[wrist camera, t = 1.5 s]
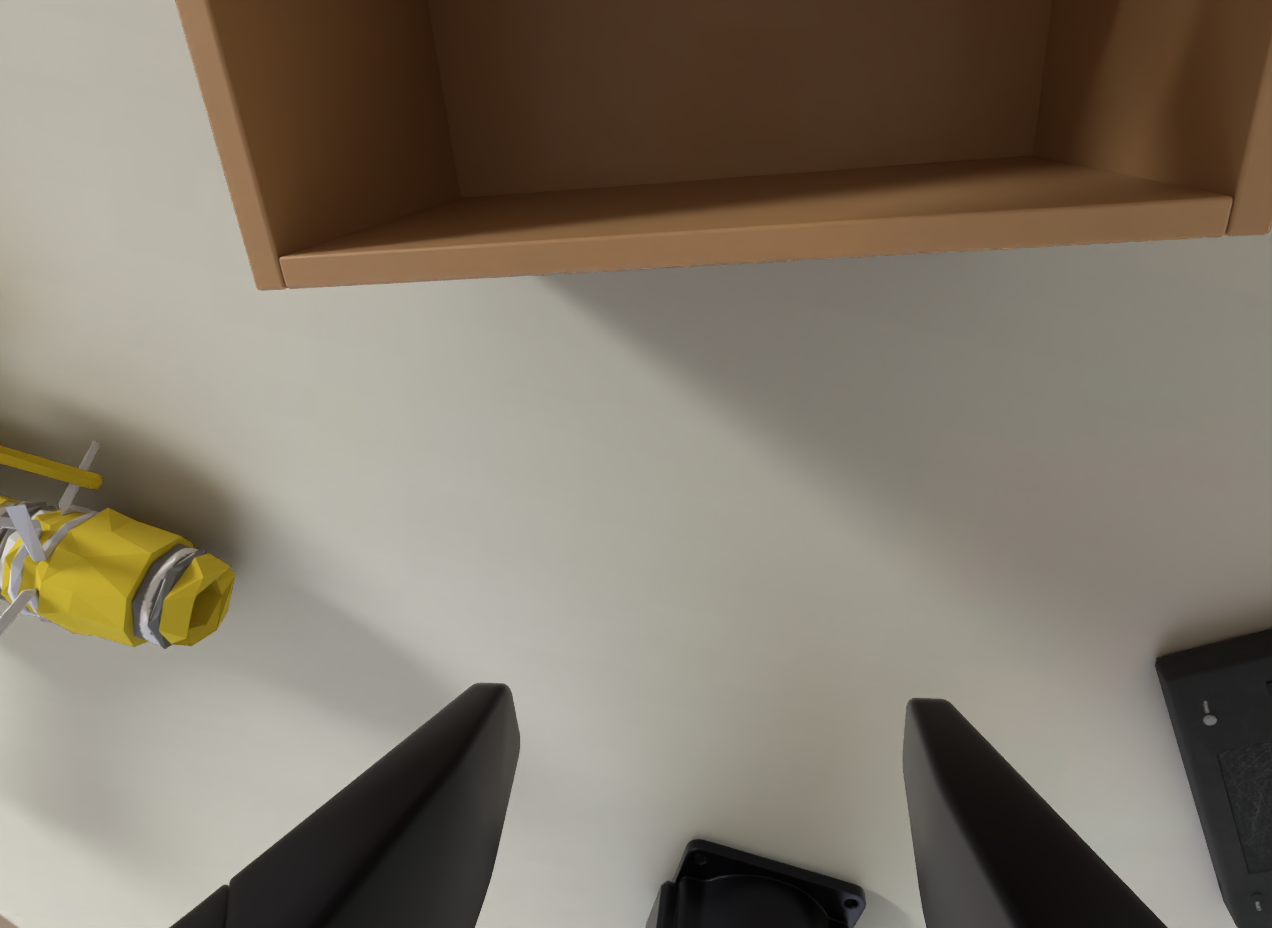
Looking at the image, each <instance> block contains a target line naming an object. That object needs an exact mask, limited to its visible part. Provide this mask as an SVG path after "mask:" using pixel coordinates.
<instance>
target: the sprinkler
mask: <svg viewBox="0 0 1272 928" xmlns="http://www.w3.org/2000/svg"><path fill="white" fill-rule="evenodd" d="M100 445H101V444H99V443H98V442H96V441H95V440H93V442H92V444H91V446H90V448H89V449H88V451H87V453H86V455H85V456H84V458H83V460H82V462H81V464H80V465H79V467H78V468H75V467H72V466H69V465H65V464H62V463H58V462H55V461H52V460H48V459H45V458H41V457H38V456H35V455H31V454H28V453H24V452H21V451H18V450H14V449H11V448H7V447H4V446H1V445H0V464H4V465H8V466H11V467H15V468H18V469H22V470H25V471H29V472H32V473H36V474H39V475H43V476H46V477H50V478H53V479H57V480H61V481H64V482H68V483H69V485H68V487H67V489H66V490H65V492H64V494H63V496H62V498H61V499H60V501H59V504H58V506H59V509H60V510H58V509H55V508H54V507H53V506H47V504H46V502H42V503H35V502H29V501H22V502H21V501H18V500H15V499H12V498H9V497H6V496H3V495H0V600H7V601H8V602H9V603H10V604H11V605H10V606H9V607H8V609H7V610H6V611H5V612H4V613H3V614H2V616H1V617H0V636H1V634H2V633H3V632H4V631H5V630H6V628H7V627H8V626H9V625H10V624H11V622H12V621H13V620H14V619H15V618H16V617H17V615H18V614H23V615H31V616H38V617H39V619H40V620H41V621H49V622H54V623H55V624H57V625H59V626H61V627H63V628H65V629H66V630H68V631H70V632H72V633H74V634H83V635H91V636H98V637H101V638H105V639H108V640H112V641H115V642H119V643H122V644H126V645H129V646H133V647H135V646H138V645H140V644H143V643H145V642H148V641H150V642H153V643H155V644H158V645H160V646H162V647H163V648H164V649H166V648H167V647H169V646H171V645H172V644H176V645H187V646H193V645H194V644H196V643H197V642H199V641H200V640H202V639H203V638H205V637H207V636H208V635H210V634H211V633H213V632H214V631H216V630H217V628H218V627H219V625H220V623H221V622H222V620H223V618H224V616H225V615H226V613H227V611H228V607H229V602H230V598H231V593H232V588H233V583H234V579H235V574H234V573H233V572H232V571H231V570H230V569H229V568H230V567H231V566H230V565H228V564H226V563H225V562H223V561H221V560H220V559H218V558H216V557H215V556H213V555H211V554H210V553H207V552H206V551H204V550H201V549H194V546H193V543H192V542H190V541H188V540H187V539H185V538H184V537H182V536H179V535H177V534H174V533H171V532H168V531H165V530H162V529H159V528H156V527H153V526H151V525H148V524H145V523H142V522H139V521H136V520H133V519H131V518H129V517H127V516H125V515H123V514H121V513H118V512H116V511H114V510H112V509H110V508H106V509H104V510H103V511H101V512H97V511H92V510H91V509H87V508H83V507H79V506H75V505H71V504H72V502H73V500H74V498H75V496H76V494H77V492H78V490H79V488H80V486H82V487H85V488H89V489H99V487H100V486H101V484H102V479H103V478H102V477H101V476H100V475H99V474H96V473H92V472H89V471H88V469H89V467H90V465H91V463H92V461H93V459H94V457H95V455H96V453H97V451H98V449H99V447H100Z"/></svg>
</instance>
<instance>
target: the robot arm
mask: <svg viewBox="0 0 1272 928" xmlns="http://www.w3.org/2000/svg"><path fill="white" fill-rule="evenodd" d="M519 751H520V733H519V728H518V723H517V718H516V712H515V707H514V702H513V697H512V693H511V690H510V688H509V687H508V686H507V685H505V684H503V683H476V684H474V685H472V686H471V687H469V688H468V689H467V690H466V691H464V692H463V693H462V694H461V695H460V696H458V697H457V698H456V699H455V700H453V701H452V702H451V703H450V704H448V705H447V706H446V707H445V708H443V709H442V710H441V711H440V712H438V713H437V714H436V715H435V716H433V717H432V718H431V719H430V720H428V721H427V722H426V723H425V724H423V725H422V726H421V727H420V728H418V729H417V730H416V731H415V732H413V733H412V734H411V735H410V736H408V737H407V738H406V739H405V740H403V741H402V742H401V743H400V744H399V745H397V746H396V747H395V748H394V749H392V750H391V751H390V752H389V753H387V754H386V755H385V756H384V757H382V758H381V759H380V760H379V761H377V762H376V763H375V764H374V765H372V766H371V767H370V768H369V769H367V770H366V771H365V772H364V773H362V774H361V775H360V776H359V777H357V778H356V779H355V780H354V781H352V782H351V783H350V784H349V785H347V786H346V787H345V788H344V789H342V790H341V791H340V792H339V793H337V794H336V795H335V796H334V797H333V798H331V799H330V800H329V801H328V802H326V803H325V804H324V805H323V806H321V807H320V808H319V809H318V810H316V811H315V812H314V813H313V814H311V815H310V816H309V817H308V818H306V819H305V820H304V821H303V822H301V823H300V824H299V825H298V826H296V827H295V828H294V829H293V830H291V831H290V832H289V833H288V834H286V835H285V836H284V837H283V838H281V839H280V840H279V841H278V842H276V843H275V844H274V845H273V846H272V847H270V848H269V849H268V850H267V851H265V852H264V853H263V854H262V855H260V856H259V857H258V858H257V859H255V860H254V861H253V862H252V863H250V864H249V865H248V866H247V867H245V868H244V869H243V870H242V871H240V872H239V873H238V874H237V875H235V876H234V877H233V878H232V879H231V880H230V884H229V886H228V885H223V886H221V887H220V888H219V889H218V890H216V891H215V892H214V893H213V894H211V895H210V896H209V897H208V898H206V899H205V900H204V901H203V902H201V903H200V904H199V905H198V906H196V907H195V908H194V909H193V910H191V911H190V912H189V913H188V914H186V915H185V916H184V917H182V918H181V919H180V920H179V921H177V922H176V923H175V924H173V925H172V926H171V927H170V928H475V925H476V922H477V919H478V916H479V913H480V911H481V908H482V905H483V902H484V899H485V896H486V892H487V889H488V886H489V883H490V879H491V876H492V872H493V868H494V864H495V860H496V856H497V851H498V847H499V842H500V838H501V833H502V829H503V824H504V820H505V815H506V811H507V806H508V802H509V798H510V793H511V789H512V784H513V780H514V775H515V771H516V766H517V762H518V757H519ZM903 773H904V780H905V788H906V795H907V803H908V810H909V817H910V825H911V832H912V840H913V847H914V854H915V862H916V869H917V877H918V884H919V890H920V896H921V902H922V908H923V914H924V918H925V923H926V927H927V928H1167V927H1166V925H1165V924H1164V923H1163V922H1162V921H1161V920H1160V919H1159V918H1158V917H1157V916H1156V915H1155V914H1154V913H1153V912H1152V911H1151V910H1150V909H1149V908H1148V907H1147V906H1146V905H1145V904H1144V903H1143V902H1142V901H1141V900H1140V899H1139V898H1138V896H1137V895H1136V894H1135V893H1134V892H1133V891H1132V890H1131V889H1130V888H1129V887H1128V886H1127V885H1126V884H1125V883H1124V882H1123V881H1122V880H1121V879H1120V878H1119V877H1118V876H1117V875H1116V874H1115V873H1114V872H1113V871H1112V870H1111V869H1110V868H1109V866H1108V865H1107V864H1106V863H1105V862H1104V861H1103V860H1102V859H1101V858H1100V857H1099V856H1098V855H1097V854H1096V853H1095V852H1094V851H1093V850H1092V849H1091V848H1090V847H1089V846H1088V845H1087V844H1086V843H1085V842H1084V841H1083V840H1082V839H1081V837H1080V836H1079V835H1078V834H1077V833H1076V832H1075V831H1074V830H1073V829H1072V828H1071V827H1070V826H1069V825H1068V824H1067V823H1066V822H1065V821H1064V820H1063V819H1062V818H1061V817H1060V816H1059V815H1058V814H1057V813H1056V812H1055V811H1054V810H1053V809H1052V807H1051V806H1050V805H1049V804H1048V803H1047V802H1046V801H1045V800H1044V799H1043V798H1042V797H1041V796H1040V795H1039V794H1038V793H1037V792H1036V791H1035V790H1034V789H1033V788H1032V787H1031V786H1030V785H1029V784H1028V783H1027V782H1026V781H1025V780H1024V778H1023V777H1022V776H1021V775H1020V774H1019V773H1018V772H1017V771H1016V770H1015V769H1014V768H1013V767H1012V766H1011V765H1010V764H1009V763H1008V762H1007V761H1006V760H1005V759H1004V758H1003V757H1002V756H1001V755H1000V754H999V753H998V752H997V751H996V749H995V748H994V747H993V746H992V745H991V744H990V743H989V742H988V741H987V740H986V739H985V738H984V737H983V736H982V735H981V734H980V733H979V732H978V731H977V730H976V729H975V728H974V727H973V726H972V725H971V724H970V723H969V722H968V721H967V719H966V718H965V717H964V716H963V715H962V714H961V713H960V712H959V711H958V710H957V709H956V708H955V707H954V706H953V705H952V704H951V703H950V702H948V701H946V700H944V699H931V698H912V699H911V700H909V702H908V703H907V707H906V719H905V731H904V744H903ZM865 906H866V901H865V893H864V891H863V889H862V888H861V887H860V886H857V885H855V884H852V883H848V882H845V881H842V880H838V879H835V878H831V877H828V876H825V875H821V874H818V873H814V872H811V871H808V870H804V869H801V868H797V867H794V866H791V865H787V864H784V863H780V862H777V861H773V860H770V859H767V858H763V857H760V856H756V855H753V854H750V853H746V852H743V851H739V850H736V849H733V848H729V847H726V846H722V845H719V844H716V843H712V842H709V841H705V840H700V839H697V840H692V841H690V842H689V843H688V844H687V846H686V849H685V851H684V854H683V856H682V859H681V861H680V864H679V866H678V869H677V872H676V874H675V877H674V879H673V882H671V881H667V882H665V883H664V884H662V885H661V887H660V890H659V892H658V895H657V897H656V900H655V903H654V905H653V908H652V910H651V913H650V916H649V918H648V921H647V924H646V928H853V927H854V926H855V924H856V922H857V921H858V919H859V917H860V915H861V914H862V912H863V910H864V909H865Z"/></svg>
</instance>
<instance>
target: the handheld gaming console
mask: <svg viewBox="0 0 1272 928" xmlns="http://www.w3.org/2000/svg"><path fill="white" fill-rule="evenodd" d="M1155 666H1156V670H1157V674H1158V677H1159V681H1160V684H1161V688H1162V691H1163V695H1164V698H1165V701H1166V705H1167V708H1168V712H1169V715H1170V719H1171V722H1172V726H1173V729H1174V732H1175V736H1176V739H1177V743H1178V746H1179V750H1180V753H1181V757H1182V760H1183V763H1184V767H1185V770H1186V774H1187V777H1188V781H1189V784H1190V788H1191V791H1192V794H1193V798H1194V801H1195V805H1196V808H1197V812H1198V815H1199V818H1200V822H1201V825H1202V829H1203V832H1204V836H1205V839H1206V842H1207V846H1208V849H1209V853H1210V856H1211V860H1212V863H1213V866H1214V870H1215V873H1216V877H1217V880H1218V884H1219V887H1220V891H1221V894H1222V897H1223V901H1224V903H1225V905H1226V907H1227V909H1228V911H1229V913H1230V915H1231V916H1232V918H1233V920H1234V922H1235V924H1236V926H1237V927H1238V928H1272V630H1268V631H1264V632H1260V633H1256V634H1252V635H1248V636H1244V637H1240V638H1236V639H1232V640H1228V641H1223V642H1219V643H1215V644H1211V645H1207V646H1203V647H1199V648H1195V649H1191V650H1187V651H1183V652H1179V653H1175V654H1171V655H1167V656H1163V657H1161V658H1157V661H1156V664H1155Z"/></svg>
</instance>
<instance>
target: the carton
mask: <svg viewBox="0 0 1272 928" xmlns="http://www.w3.org/2000/svg"><path fill="white" fill-rule="evenodd" d="M175 2H176V5H177V9H178V12H179V16H180V19H181V23H182V26H183V30H184V34H185V37H186V41H187V44H188V48H189V51H190V55H191V58H192V62H193V65H194V69H195V72H196V76H197V79H198V83H199V86H200V90H201V93H202V97H203V100H204V104H205V107H206V111H207V114H208V118H209V122H210V125H211V129H212V132H213V136H214V139H215V143H216V146H217V150H218V153H219V157H220V160H221V164H222V167H223V171H224V174H225V178H226V181H227V185H228V188H229V192H230V195H231V199H232V202H233V206H234V210H235V213H236V217H237V220H238V224H239V227H240V231H241V234H242V238H243V241H244V245H245V248H246V252H247V255H248V259H249V262H250V266H251V269H252V273H253V276H254V280H255V283H256V287H257V289H258V290H280V289H286V288H290V289H298V288H316V287H334V286H352V285H370V284H388V283H405V282H423V281H441V280H459V279H477V278H495V277H513V276H531V275H549V274H566V273H584V272H602V271H620V270H638V269H656V268H674V267H692V266H709V265H727V264H745V263H763V262H781V261H799V260H817V259H835V258H852V257H870V256H888V255H906V254H924V253H942V252H960V251H978V250H995V249H1013V248H1031V247H1049V246H1067V245H1085V244H1103V243H1121V242H1138V241H1156V240H1174V239H1192V238H1210V237H1220V236H1223V235H1227V236H1246V235H1263V234H1266V233H1269V231H1270V230H1271V226H1272V0H175Z"/></svg>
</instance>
